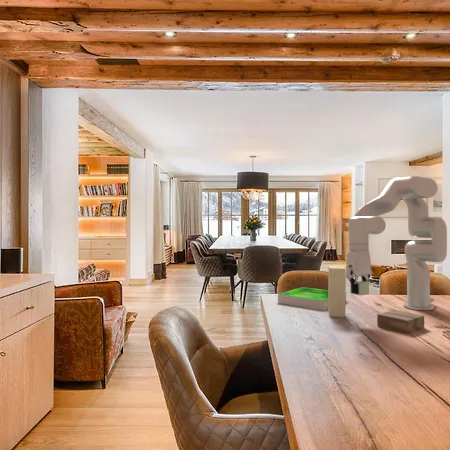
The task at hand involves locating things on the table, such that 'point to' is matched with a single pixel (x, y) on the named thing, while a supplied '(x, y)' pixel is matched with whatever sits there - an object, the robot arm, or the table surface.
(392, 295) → the table surface
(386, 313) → the walnut block
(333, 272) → the tall beige block
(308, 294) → the tray
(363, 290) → the cream cube
